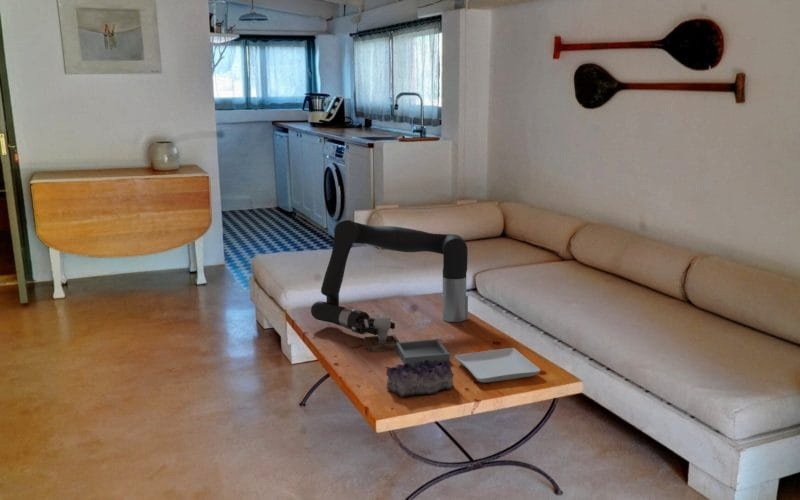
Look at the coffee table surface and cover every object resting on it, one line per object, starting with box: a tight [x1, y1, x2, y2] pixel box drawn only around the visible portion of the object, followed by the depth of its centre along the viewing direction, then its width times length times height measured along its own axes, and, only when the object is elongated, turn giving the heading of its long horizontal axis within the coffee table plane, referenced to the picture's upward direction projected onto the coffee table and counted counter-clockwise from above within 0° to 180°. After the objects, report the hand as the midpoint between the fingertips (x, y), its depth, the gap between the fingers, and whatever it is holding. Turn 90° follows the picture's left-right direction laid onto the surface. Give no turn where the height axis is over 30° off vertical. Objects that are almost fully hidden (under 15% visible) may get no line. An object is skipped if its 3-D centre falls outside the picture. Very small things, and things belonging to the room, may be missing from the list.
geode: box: [385, 360, 454, 398], centre depth 209 cm, size 20×12×10 cm, turn 108°
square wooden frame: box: [364, 334, 400, 353], centre depth 248 cm, size 11×11×2 cm
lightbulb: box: [373, 314, 392, 345], centre depth 247 cm, size 6×6×11 cm
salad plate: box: [454, 347, 541, 383], centre depth 223 cm, size 21×21×3 cm
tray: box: [395, 338, 451, 365], centre depth 237 cm, size 15×15×3 cm
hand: (385, 329), depth 246 cm, fingers open, 8 cm apart
